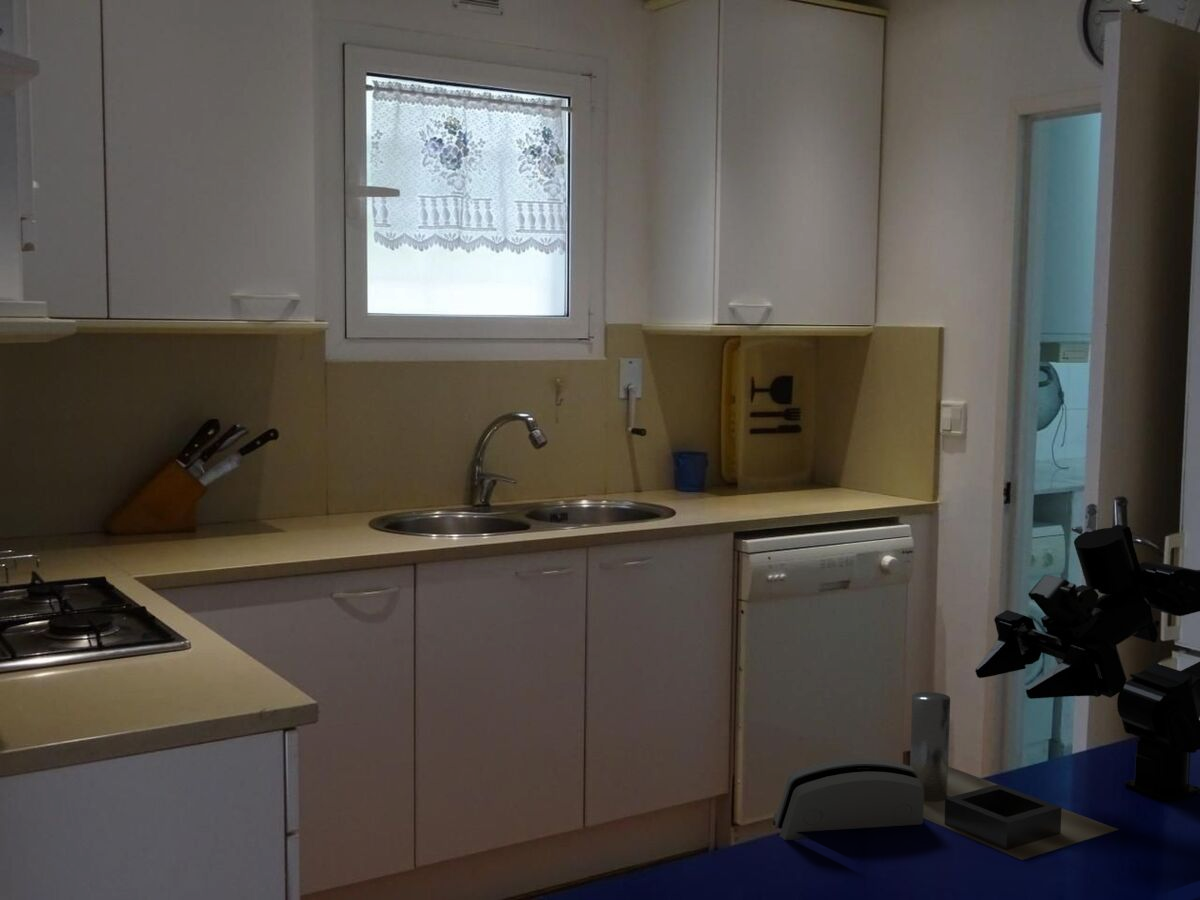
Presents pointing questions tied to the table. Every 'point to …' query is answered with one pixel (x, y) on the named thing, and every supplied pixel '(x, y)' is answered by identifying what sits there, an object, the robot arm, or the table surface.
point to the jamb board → (961, 782)
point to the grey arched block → (850, 797)
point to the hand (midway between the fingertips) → (1001, 684)
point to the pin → (931, 743)
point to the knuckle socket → (1003, 816)
